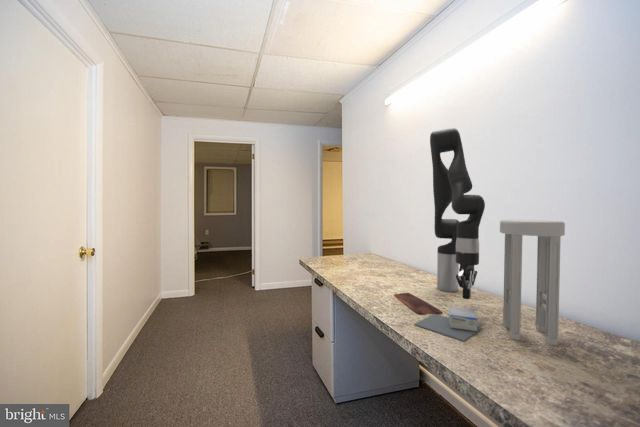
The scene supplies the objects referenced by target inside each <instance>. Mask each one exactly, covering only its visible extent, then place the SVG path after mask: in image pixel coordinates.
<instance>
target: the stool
mask: <svg viewBox="0 0 640 427" xmlns="http://www.w3.org/2000/svg"><path fill="white" fill-rule="evenodd" d="M565 230H566V224H565V222H564V221H561V220H560V221H559V220H548V219H547V220H546V219H502V220H500V221H499V233H501V234H504V258H503V260H504V261H503V262H504V265H503V267H504V269H503V306H502V307H503V308H502V311H503V315H502V316H503V317H502V320H503V321H502V322H503V323H502V324H503V327H504V328H507V329H509V338H510V340H514V341H515V340H517V341H521V328H522V327H521V326H522V325H521V321H522V318H521V316H522V280H523V279H522V278H523V277H522V274H523V273H522V272H523V236H526V237H527V236H529V237H530V236H531V237H537V248H536V249H537V252H536V254H537V255H536V256H537V257H536V258H537V259H536V293H535V294H536V302H535V330H536V332H538V333H545V342H546V343H547V345H549V346H550V345H551V346H559V326H560V325H559V317H560V315H559V314H560V281H561V280H560V279H561V278H560V274H561V272H560V270H561V237H562V236H565V233H566V231H565Z"/></svg>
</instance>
